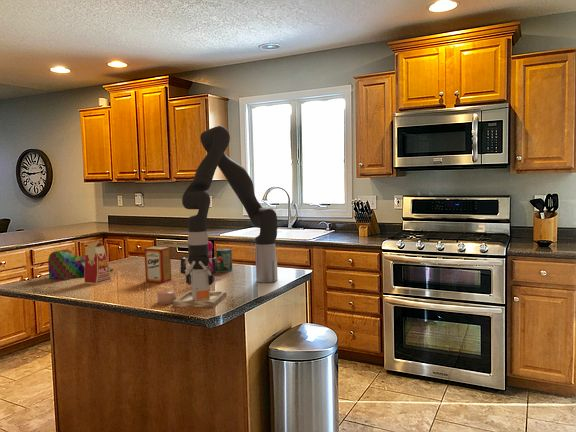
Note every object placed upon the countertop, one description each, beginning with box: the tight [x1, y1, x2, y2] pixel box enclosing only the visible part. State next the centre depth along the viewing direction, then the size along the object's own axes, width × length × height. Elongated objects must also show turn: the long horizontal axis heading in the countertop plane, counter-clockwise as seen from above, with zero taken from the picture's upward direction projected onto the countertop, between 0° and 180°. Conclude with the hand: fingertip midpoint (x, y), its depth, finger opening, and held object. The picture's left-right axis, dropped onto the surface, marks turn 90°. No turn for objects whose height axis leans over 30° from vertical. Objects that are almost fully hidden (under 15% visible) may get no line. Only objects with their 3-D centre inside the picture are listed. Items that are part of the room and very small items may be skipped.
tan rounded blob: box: [156, 289, 177, 305], centre depth 189 cm, size 7×7×4 cm
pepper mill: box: [208, 240, 216, 281], centre depth 226 cm, size 7×7×20 cm
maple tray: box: [172, 290, 228, 308], centre depth 189 cm, size 16×16×2 cm
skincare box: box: [190, 269, 211, 301], centre depth 188 cm, size 6×4×12 cm
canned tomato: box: [215, 247, 233, 273], centre depth 249 cm, size 8×8×11 cm
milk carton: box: [83, 239, 113, 286], centre depth 228 cm, size 9×9×20 cm
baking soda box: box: [143, 245, 172, 284], centre depth 227 cm, size 10×6×16 cm
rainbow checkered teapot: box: [47, 249, 114, 281], centre depth 247 cm, size 25×17×14 cm
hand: (199, 284), depth 188 cm, fingers open, 8 cm apart
